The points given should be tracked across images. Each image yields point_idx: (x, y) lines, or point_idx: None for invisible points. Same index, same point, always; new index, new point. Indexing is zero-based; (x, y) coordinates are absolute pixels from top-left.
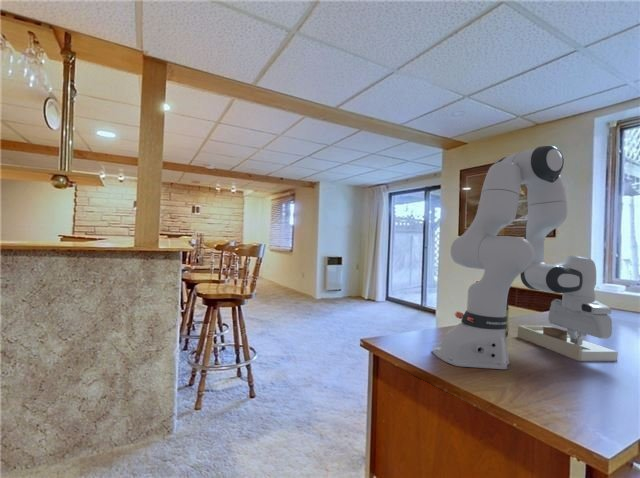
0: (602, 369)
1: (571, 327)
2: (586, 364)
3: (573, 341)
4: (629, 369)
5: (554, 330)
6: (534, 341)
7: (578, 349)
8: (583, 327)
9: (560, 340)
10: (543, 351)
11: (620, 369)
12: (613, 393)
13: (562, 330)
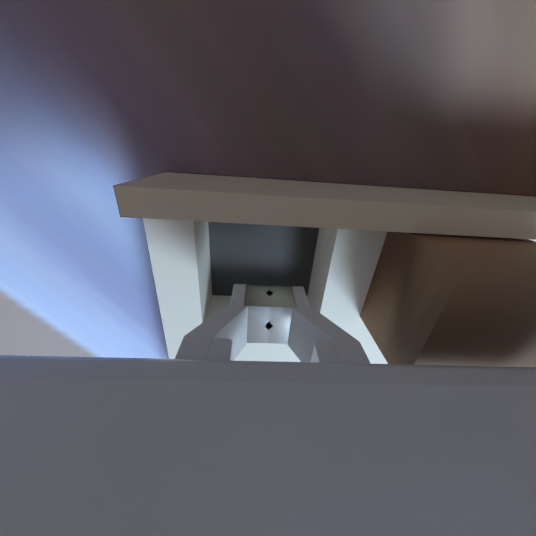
0: (25, 183)
1: (298, 385)
2: (102, 162)
3: (273, 290)
4: (80, 331)
5: (473, 265)
6: (517, 196)
7: (135, 183)
8: (6, 456)
9: (326, 199)
10: (366, 74)
11: (65, 291)
12: None
13: (425, 352)
